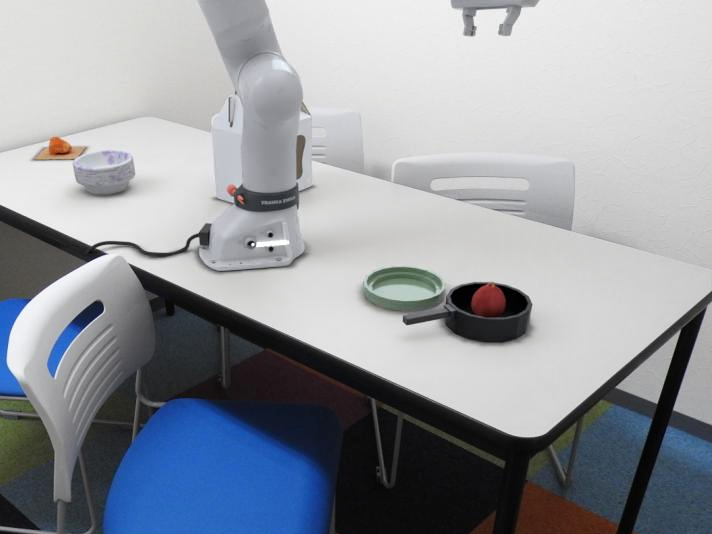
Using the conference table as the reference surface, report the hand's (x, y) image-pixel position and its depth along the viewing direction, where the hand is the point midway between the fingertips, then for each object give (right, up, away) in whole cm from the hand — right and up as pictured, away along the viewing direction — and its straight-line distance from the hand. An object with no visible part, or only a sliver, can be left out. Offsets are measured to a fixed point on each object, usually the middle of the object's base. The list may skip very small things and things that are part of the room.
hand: (485, 35), depth 142 cm
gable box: (-42, -14, +55) cm, 70 cm away
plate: (-14, -46, +6) cm, 49 cm away
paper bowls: (-83, -12, +59) cm, 102 cm away
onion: (-1, -53, -4) cm, 53 cm away
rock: (-102, +6, +86) cm, 134 cm away
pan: (-5, -54, -5) cm, 54 cm away
